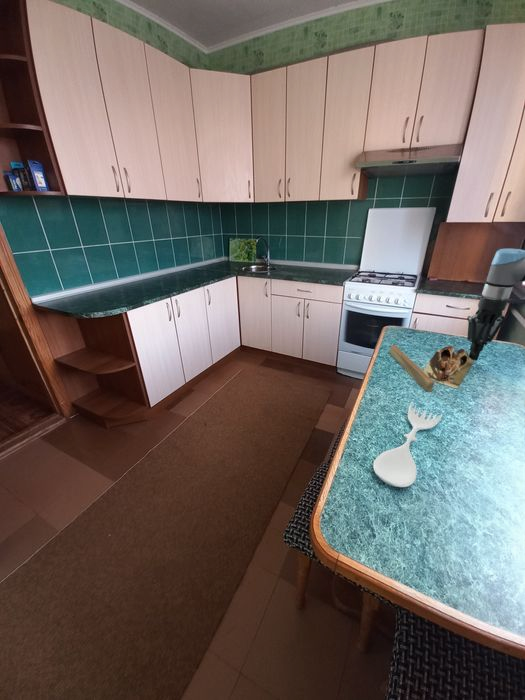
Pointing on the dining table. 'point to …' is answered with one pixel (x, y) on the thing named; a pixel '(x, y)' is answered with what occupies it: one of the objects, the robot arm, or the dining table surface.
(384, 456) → the spoon
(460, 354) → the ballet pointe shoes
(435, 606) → the dining table surface
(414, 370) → the light brown wooden bar
